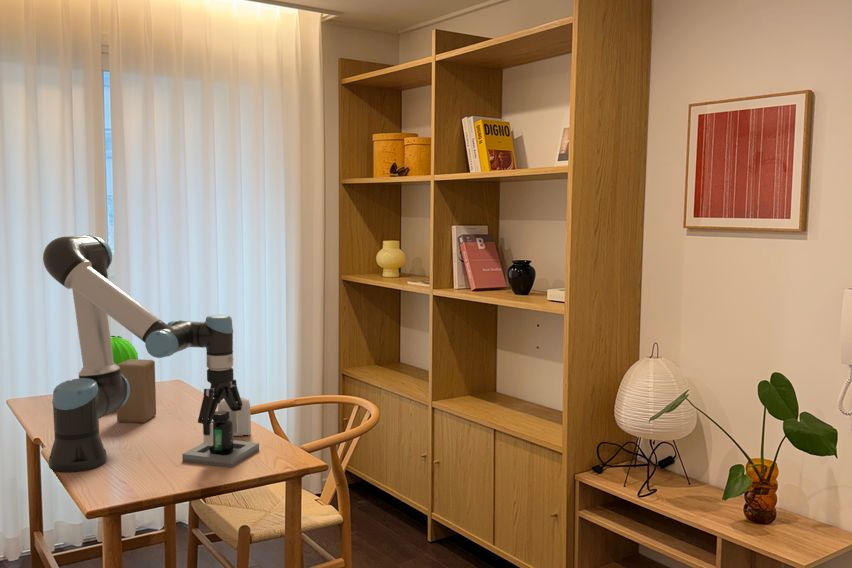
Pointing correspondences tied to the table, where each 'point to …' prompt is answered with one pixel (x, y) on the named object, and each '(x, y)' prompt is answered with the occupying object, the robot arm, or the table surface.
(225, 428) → the supplement bottle
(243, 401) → the photo printer
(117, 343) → the potted cactus
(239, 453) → the base plate
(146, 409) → the wooden block
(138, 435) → the table surface
